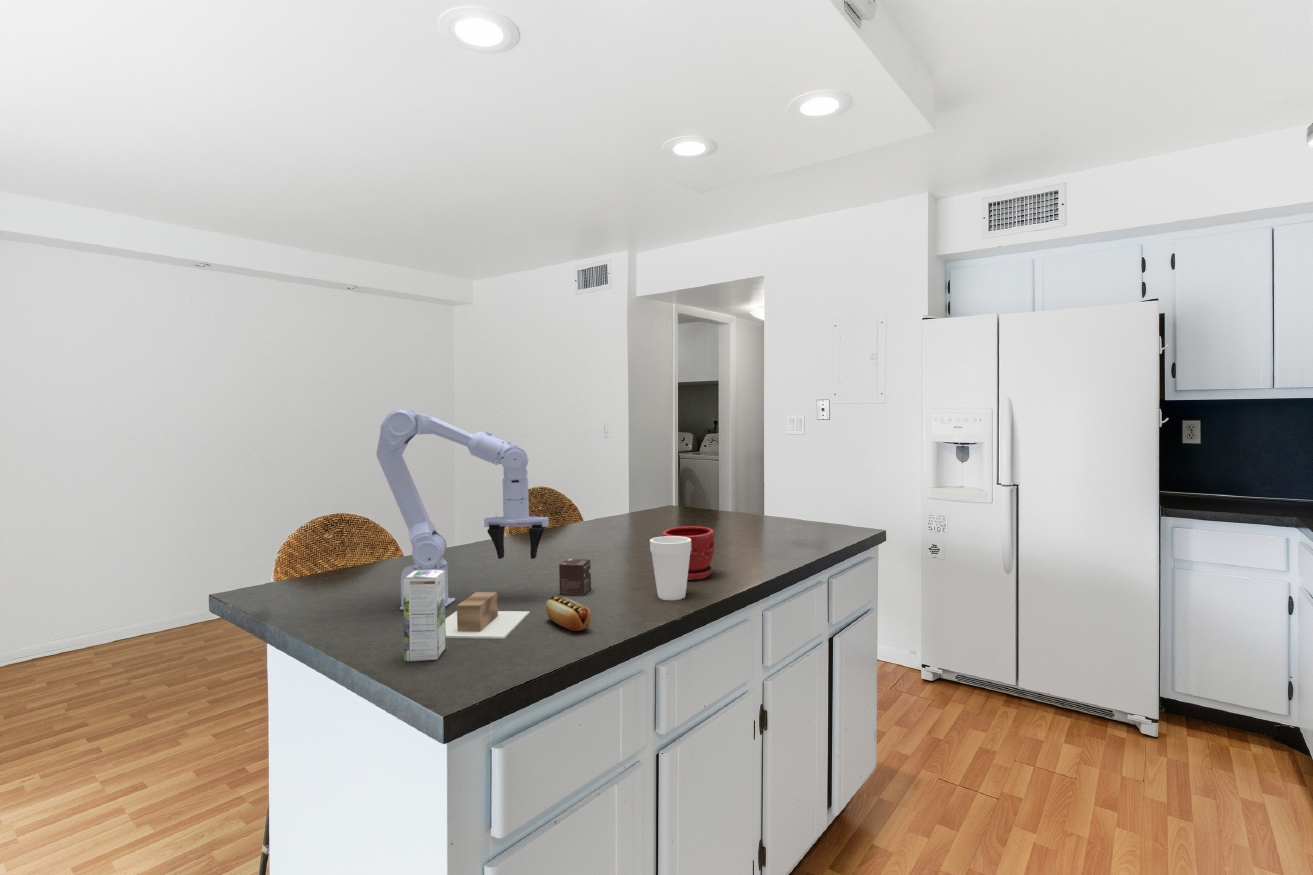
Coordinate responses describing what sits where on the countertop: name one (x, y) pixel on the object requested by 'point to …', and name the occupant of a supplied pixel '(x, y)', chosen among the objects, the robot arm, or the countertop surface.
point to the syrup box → (424, 615)
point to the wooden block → (477, 611)
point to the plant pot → (697, 549)
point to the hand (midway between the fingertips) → (517, 557)
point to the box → (575, 577)
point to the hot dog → (568, 613)
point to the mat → (488, 626)
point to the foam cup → (671, 565)
